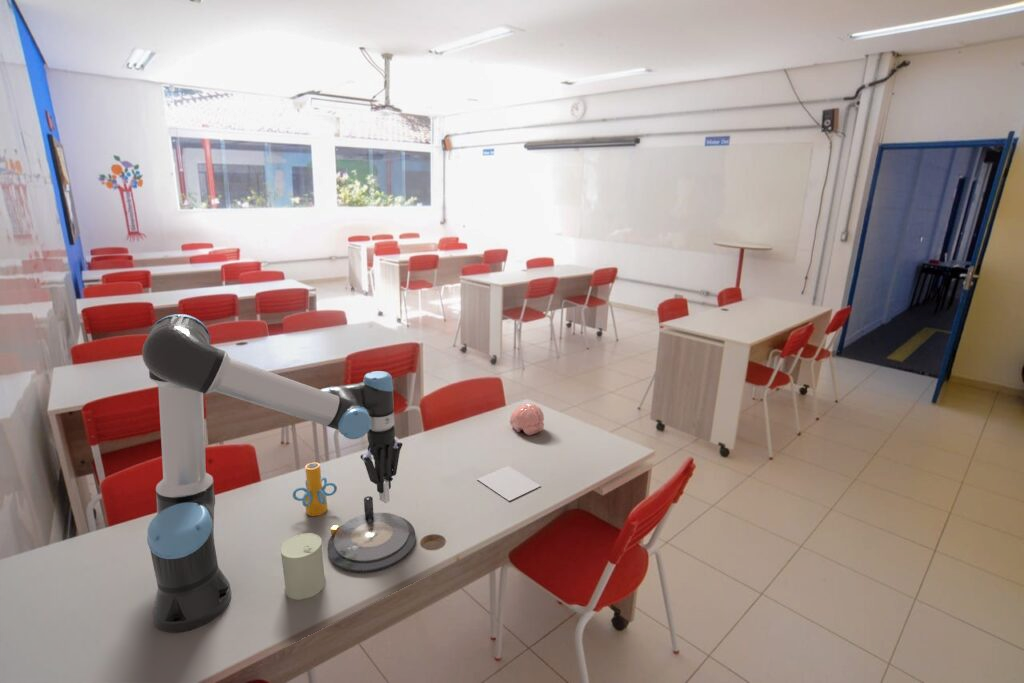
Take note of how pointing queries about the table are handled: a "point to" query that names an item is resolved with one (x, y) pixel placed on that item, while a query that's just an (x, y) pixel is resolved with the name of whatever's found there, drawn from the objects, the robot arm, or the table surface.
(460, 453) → the table surface
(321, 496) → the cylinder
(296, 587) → the can
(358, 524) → the turntable
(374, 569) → the turntable base
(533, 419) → the brain
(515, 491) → the paper stack
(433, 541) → the table surface
